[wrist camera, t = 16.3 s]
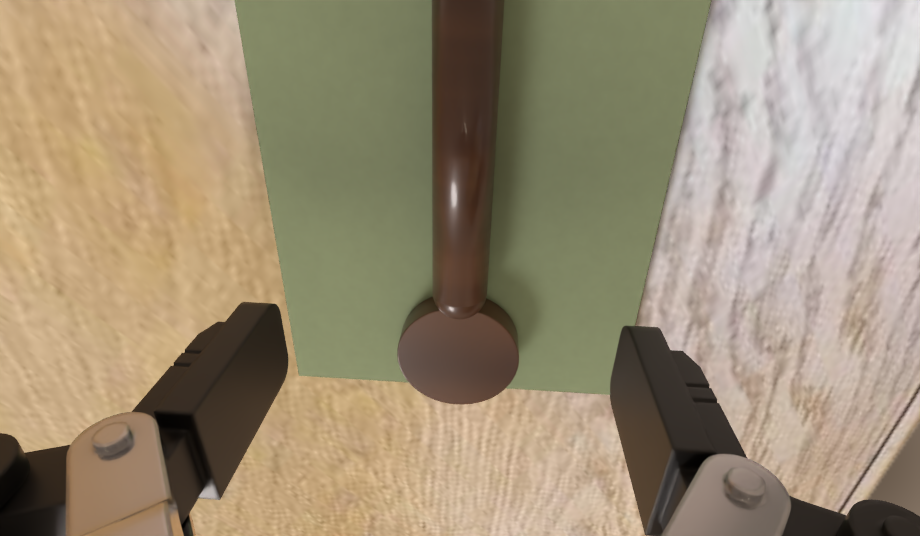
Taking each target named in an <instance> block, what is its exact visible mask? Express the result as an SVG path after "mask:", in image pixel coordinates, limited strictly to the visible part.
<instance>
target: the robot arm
mask: <svg viewBox="0 0 920 536" xmlns="http://www.w3.org/2000/svg"><path fill="white" fill-rule="evenodd" d="M287 369H288V353H287V347H286V341H285V336H284V330H283V325H282V319H281V314H280V310H279V307H278V306H277V305H276V304H269V303H252V302H243V303H241V304H240V305H239V306H238V307H237V308H236V309H235V311H234V312H233V313H232V314H231V316H230V317H229V318H228V319H227V321H226V322H217V323H215V324H214V325H212V326H211V327H209V328H208V329H206V330H204V331H203V332H201V333H200V334H198V335H197V336H196V338H195V339H194V340H193V341H192V342H191V343H190V344H189V346H188V347H187V348H186V349H185V353H182V354H181V355H180V356H179V357H178V358H177V360H176V361H175V362H174V366H171V367H170V368H169V369H168V370H167V371H166V372H165V374H164V375H163V376H162V377H161V378H160V379H159V381H158V382H157V383H156V384H155V385H154V386H153V388H152V389H151V390H150V391H149V392H148V393H147V395H146V396H145V397H144V398H143V399H142V400H141V402H140V403H139V404H138V405H137V406H136V407H135V409H134V410H133V411H132V412H127V413H121V414H117V415H114V416H110V417H108V418H105V419H103V420H101V421H99V422H97V423H95V424H93V425H92V426H90V427H89V428H87V429H86V430H84V431H83V432H82V433H81V434H80V435H79V436H78V437H77V438H76V439H75V440H74V441H73V442H72V444H71V445H67V446H61V447H56V448H50V449H44V450H39V451H33V452H27V453H24V452H23V450H22V448H21V446H20V445H19V443H18V441H17V440H16V439H15V438H14V437H13V436H11V435H8V434H2V433H0V536H196V533H195V529H194V524H193V520H192V517H191V514H190V511H191V509H192V508H193V506H194V504H195V503H196V501H197V499H198V498H203V499H216V500H220V499H221V497H222V495H223V493H224V491H225V489H226V488H227V486H228V484H229V482H230V480H231V478H232V477H233V475H234V473H235V471H236V469H237V467H238V466H239V464H240V462H241V460H242V458H243V456H244V454H245V453H246V451H247V449H248V447H249V445H250V443H251V442H252V440H253V438H254V436H255V434H256V432H257V431H258V429H259V427H260V425H261V423H262V421H263V419H264V418H265V416H266V414H267V412H268V410H269V408H270V407H271V405H272V403H273V401H274V399H275V397H276V396H277V394H278V392H279V390H280V388H281V386H282V384H283V383H284V380H285V378H286V374H287ZM610 399H611V405H612V409H613V413H614V417H615V421H616V425H617V428H618V432H619V436H620V440H621V444H622V448H623V451H624V455H625V459H626V463H627V467H628V471H629V474H630V478H631V482H632V486H633V490H634V494H635V498H636V501H637V505H638V509H639V513H640V517H641V521H642V524H643V528H644V532H645V535H649V536H920V517H919V516H918V515H916V514H914V513H913V512H911V511H909V510H907V509H905V508H903V507H900V506H898V505H895V504H892V503H889V502H885V501H880V500H863V501H860V502H857V503H856V504H854V505H853V507H852V508H851V509H850V511H849V513H848V514H847V516H846V515H843V514H840V513H837V512H834V511H831V510H828V509H825V508H822V507H819V506H816V505H813V504H810V503H807V502H804V501H801V500H798V499H796V498H793V497H791V496H789V494H788V492H787V490H786V489H785V487H784V486H783V484H782V483H781V482H780V481H779V480H778V478H777V477H776V476H775V475H773V474H772V473H771V472H770V471H769V470H767V469H766V468H764V467H763V466H761V465H760V464H758V463H756V462H754V461H752V460H750V459H748V458H747V457H746V455H745V453H744V451H743V449H742V447H741V445H740V443H739V441H738V439H737V437H736V436H735V434H734V432H733V430H732V428H731V426H730V424H729V422H728V420H727V418H726V416H725V414H724V412H723V410H722V408H721V406H720V405H719V403H717V399H716V397H715V395H714V393H713V391H712V389H711V388H709V383H708V381H707V379H706V377H705V376H704V374H703V372H702V370H701V368H700V367H699V366H698V365H697V364H696V363H695V362H694V361H693V360H692V359H691V358H690V357H689V356H687V355H686V354H685V353H684V352H683V351H672V350H670V349H669V347H668V345H667V342H666V340H665V338H664V336H663V334H662V332H661V330H660V329H659V328H658V327H642V326H624V327H623V328H622V330H621V334H620V338H619V343H618V347H617V352H616V356H615V361H614V366H613V370H612V375H611V381H610Z"/></svg>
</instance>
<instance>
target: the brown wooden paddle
mask: <svg viewBox="0 0 920 536" xmlns="http://www.w3.org/2000/svg"><path fill="white" fill-rule="evenodd" d="M503 17H504V0H432V279H433V297H430V298H428V299H426V300H424V301H423V302H421V303H420V304H419V305H417V306H416V307H415V308H414V309H413V310H412V311H411V312H410V314H409V315H408V317H407V318H406V320H405V323H404V325H403V329H402V332H401V336H400V340H399V344H398V348H397V357H398V363H399V366H400V369H401V371H402V373H403V375H404V376H405V378H406V379H407V381H408V382H409V383H410V384H411V385H412V386H413V387H414V388H415V389H417V390H418V391H419V392H421V393H422V394H424V395H426V396H428V397H430V398H432V399H434V400H438V401H441V402H445V403H450V404H473V403H478V402H482V401H485V400H488V399H490V398H492V397H494V396H496V395H498V394H499V393H500V392H502V391H503V390H504V389H505V388H506V387H507V386H508V385H509V384H510V383H511V381H512V380H513V378H514V377H515V375H516V372H517V370H518V365H519V344H518V334H517V330H516V327H515V325H514V323H513V321H512V319H511V318H510V316H509V315H508V314H507V313H506V312H505V311H504V310H503V309H502V308H501V307H500V306H499V305H497V304H496V303H494V302H493V301H491V300H489V299H487V298H486V297H487V287H488V271H489V254H490V237H491V220H492V203H493V186H494V169H495V152H496V135H497V118H498V101H499V84H500V67H501V51H502V34H503Z"/></svg>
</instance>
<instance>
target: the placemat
mask: <svg viewBox="0 0 920 536" xmlns="http://www.w3.org/2000/svg"><path fill="white" fill-rule="evenodd" d="M235 5H236V11H237V17H238V23H239V29H240V34H241V40H242V46H243V52H244V58H245V64H246V69H247V75H248V81H249V87H250V93H251V99H252V104H253V110H254V116H255V122H256V128H257V134H258V139H259V145H260V151H261V157H262V163H263V168H264V174H265V180H266V186H267V192H268V198H269V203H270V209H271V215H272V221H273V227H274V233H275V238H276V244H277V250H278V256H279V262H280V268H281V273H282V279H283V285H284V291H285V297H286V302H287V308H288V314H289V320H290V326H291V332H292V337H293V343H294V349H295V355H296V361H297V367H298V372H299V376H313V377H329V378H346V379H362V380H378V381H395V382H408V381H407V379H406V378H405V376H404V375H403V373H402V371H401V369H400V366H399V363H398V357H397V348H398V344H399V340H400V336H401V332H402V329H403V325H404V323H405V320H406V318H407V317H408V315H409V314H410V312H411V311H412V310H413V309H414V308H415V307H416V306H417V305H419V304H420V303H421V302H423V301H424V300H426V299H428V298H430V297H433V279H432V0H235ZM710 5H711V0H504V17H503V34H502V51H501V67H500V84H499V101H498V118H497V135H496V152H495V169H494V186H493V203H492V220H491V237H490V254H489V271H488V287H487V297H486V298H487V299H489V300H491V301H493V302H494V303H496V304H497V305H499V306H500V307H501V308H502V309H503V310H504V311H505V312H506V313H507V314H508V315H509V316H510V318H511V319H512V321H513V323H514V325H515V327H516V330H517V334H518V344H519V365H518V370H517V372H516V375H515V377H514V378H513V380H512V381H511V383H510V384H509V385H508V386H507V387H506V388H509V389H525V390H541V391H557V392H574V393H590V394H606V395H610V381H611V375H612V370H613V366H614V361H615V356H616V352H617V347H618V343H619V338H620V334H621V330H622V328H623V327H624V326H635V324H636V319H637V315H638V311H639V307H640V302H641V298H642V294H643V290H644V285H645V281H646V277H647V273H648V268H649V264H650V260H651V256H652V251H653V247H654V243H655V239H656V234H657V230H658V226H659V222H660V217H661V213H662V209H663V204H664V200H665V196H666V192H667V187H668V183H669V179H670V175H671V170H672V166H673V162H674V158H675V153H676V149H677V145H678V141H679V136H680V132H681V128H682V124H683V119H684V115H685V111H686V107H687V102H688V98H689V94H690V90H691V85H692V81H693V77H694V73H695V68H696V64H697V60H698V56H699V51H700V47H701V43H702V39H703V34H704V30H705V26H706V22H707V17H708V13H709V9H710Z"/></svg>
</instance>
